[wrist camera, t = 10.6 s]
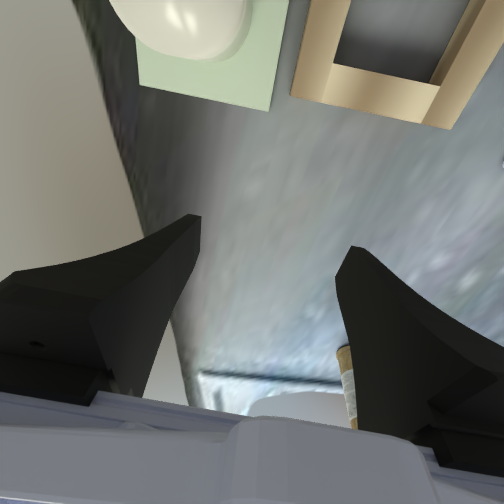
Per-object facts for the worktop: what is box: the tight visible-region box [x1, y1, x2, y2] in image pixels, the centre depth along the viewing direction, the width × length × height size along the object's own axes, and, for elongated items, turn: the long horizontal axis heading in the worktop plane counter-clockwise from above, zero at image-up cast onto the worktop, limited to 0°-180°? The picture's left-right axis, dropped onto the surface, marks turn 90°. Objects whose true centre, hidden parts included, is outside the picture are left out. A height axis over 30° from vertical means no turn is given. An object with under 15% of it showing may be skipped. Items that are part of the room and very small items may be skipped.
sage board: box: [136, 0, 289, 112], centre depth 14 cm, size 9×9×1 cm
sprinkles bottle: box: [336, 345, 358, 430], centre depth 28 cm, size 5×5×14 cm
